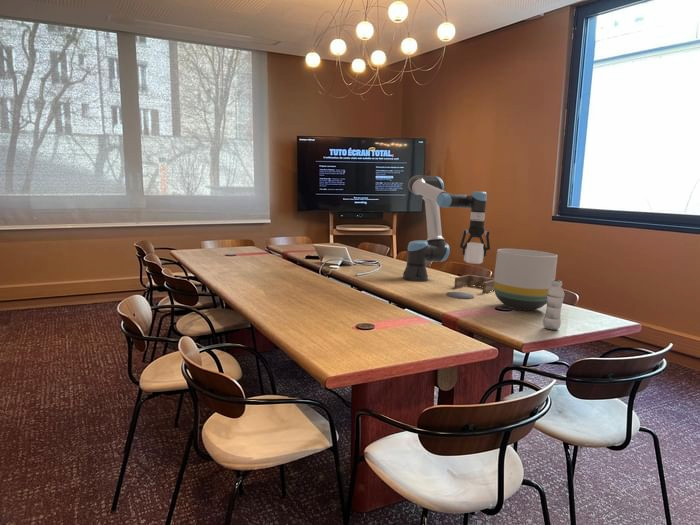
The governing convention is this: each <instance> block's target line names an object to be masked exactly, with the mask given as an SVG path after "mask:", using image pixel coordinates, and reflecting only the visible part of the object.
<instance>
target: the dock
mask: <svg viewBox="0 0 700 525" xmlns="http://www.w3.org/2000/svg"><path fill="white" fill-rule="evenodd" d="M466 285H468V286H470V285H475V286H474V287H476V286H481V287H483V288H482V294H483V293H486V294H488V293H487V292H489V293H491V292H490V291H492V290H494V277H486V276H480V275H479V276H478V275H473V274H465V275H460V276H457V277H454V286H453V288H454V289H456V290H457V289H460V287H461V288H464V287H467V286H466ZM463 286H464V287H463ZM481 287H480V288H481ZM492 292H493V291H492Z"/></svg>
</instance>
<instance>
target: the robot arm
mask: <svg viewBox="0 0 700 525" xmlns="http://www.w3.org/2000/svg"><path fill="white" fill-rule="evenodd" d="M407 184H408V185H407V188H408V190H409V191H410V193H413V194H414V195H415V196H421V198H422V200H423V201H424V205H425V216H426V217H425V218H426V219H425V220H426V229H427V230H426V231H427V238H426V240H424V239H423V240H421V239H420V240H419V239H418V240H417V239H416V240H412V241H410V242H408V245H407V252H406V253H407V256H406V257H407V258H406V267H405V269H404V271H403V274H402V279H404V280H407V281H414V282H425V281H426V282H427V281H428V280H429V279H428V278H429V275H428V272H427V262H428V263H431V262H433V263H436V262H437V263H439V262H445V261H446V260H447V259H448V257H449V255H450V252H451V251H450V245H449V243H448V242H446V240H445V238H444V237H443V232H442V222H441V221H442V220H441V211H440V209H441V208H452V209H453V208H456V209H457V208H458V209H471V210H470V218H469V219H470V220H469V227H468V229H463V230H462V236H461V240H460V244H459V248H461V249H462V255H463V262H466V251H467V243H469V242H471V240H472V239H473V238H477V239H479V241H480V243H482V244H484V245H483V256H482V263H484V257H486V256H487V251H489V250H491V246H490V238H489V237H490V236H489V235H490V231H487V230H485V217H486V211H487V210H486V209H487V199H488V198H487V196H488V195H487V192H486V191H479V190H478V191H476V190H474V191H473V192H472V194H466V193H465V194H464V193H463V194H460V193H450V192H447V191H446V190H444V189H445V184H444V181H443V179H442V178H441V177H440V176H436V175H421V174H417V175H414V176H412V177H411V178H410V179H409V181H408V183H407ZM467 234H469V236H468V238H467V240H466V241H465V239H466V236H467ZM483 234H484V235H485V241H486V245H485V242H484V239H483ZM482 263H481V264H482Z"/></svg>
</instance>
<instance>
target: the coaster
mask: <svg viewBox="0 0 700 525" xmlns="http://www.w3.org/2000/svg"><path fill="white" fill-rule="evenodd" d="M446 296H447V297H449V298H454V299H458V300H459V299H460V300H471V299H474V298H475V296H474V295H473V294H472V293H468V292H461V291H448V292H446Z"/></svg>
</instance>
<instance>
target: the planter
mask: <svg viewBox="0 0 700 525" xmlns="http://www.w3.org/2000/svg"><path fill="white" fill-rule="evenodd" d="M495 257H496V258H495V266H494V267H495V268H494V275H493V276H494V277H493V279H494V291H493V292H494V294H495V296H496V297H497V299H498V301H500V302H501V303H502V304H503V305H505V307H508V308H510V309H514V310H518V311H535V310H538V309H541V308H542V307H544V306H545V305H547V292H548V290H549V289H550V288H551V287H552V285H551V284H552V280H556V274H557V266H558V254H555V253H552V252H548V251H547V252H546V251H540V250H533V249H532V250H531V249H521V248H520V249H519V248H498V249H497V251H496V256H495Z"/></svg>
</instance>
